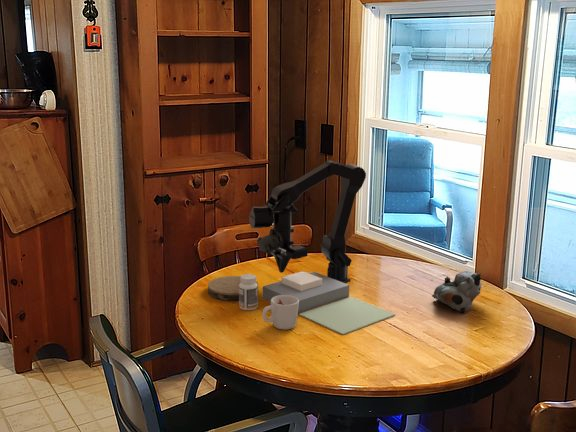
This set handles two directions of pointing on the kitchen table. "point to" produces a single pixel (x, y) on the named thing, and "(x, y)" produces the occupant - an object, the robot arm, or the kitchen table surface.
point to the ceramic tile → (302, 281)
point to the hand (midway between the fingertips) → (281, 272)
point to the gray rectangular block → (310, 293)
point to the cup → (282, 311)
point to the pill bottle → (248, 292)
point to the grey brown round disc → (225, 288)
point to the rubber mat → (347, 315)
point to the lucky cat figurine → (459, 291)
